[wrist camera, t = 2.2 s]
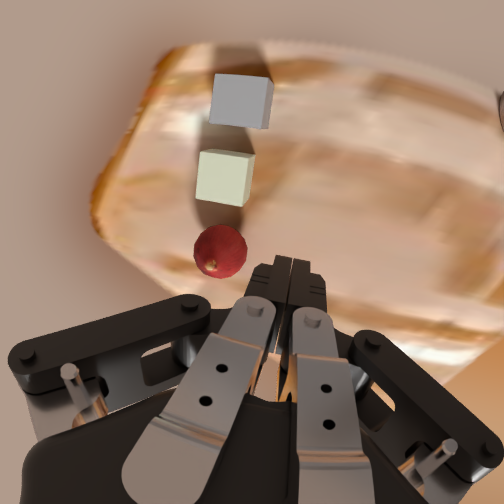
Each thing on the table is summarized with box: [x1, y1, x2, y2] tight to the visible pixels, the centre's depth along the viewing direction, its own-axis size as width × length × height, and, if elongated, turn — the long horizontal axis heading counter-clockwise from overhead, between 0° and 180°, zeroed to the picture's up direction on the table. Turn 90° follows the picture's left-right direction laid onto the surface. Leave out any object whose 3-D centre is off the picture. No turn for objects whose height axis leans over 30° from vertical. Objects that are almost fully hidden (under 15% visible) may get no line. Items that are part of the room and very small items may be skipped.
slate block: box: [209, 74, 274, 129], centre depth 27 cm, size 5×5×5 cm
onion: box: [193, 224, 248, 279], centre depth 32 cm, size 6×6×8 cm
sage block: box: [196, 149, 255, 207], centre depth 31 cm, size 5×5×4 cm
